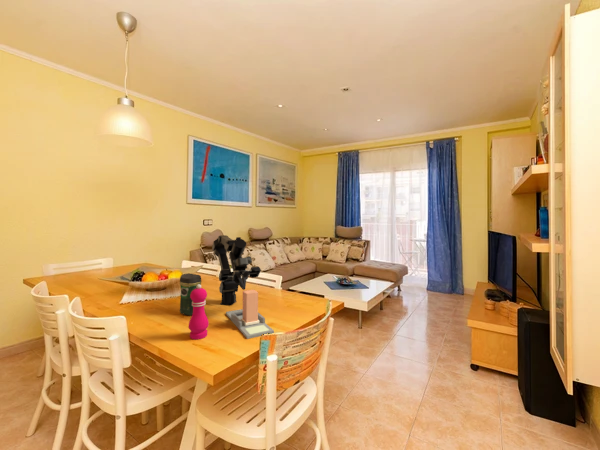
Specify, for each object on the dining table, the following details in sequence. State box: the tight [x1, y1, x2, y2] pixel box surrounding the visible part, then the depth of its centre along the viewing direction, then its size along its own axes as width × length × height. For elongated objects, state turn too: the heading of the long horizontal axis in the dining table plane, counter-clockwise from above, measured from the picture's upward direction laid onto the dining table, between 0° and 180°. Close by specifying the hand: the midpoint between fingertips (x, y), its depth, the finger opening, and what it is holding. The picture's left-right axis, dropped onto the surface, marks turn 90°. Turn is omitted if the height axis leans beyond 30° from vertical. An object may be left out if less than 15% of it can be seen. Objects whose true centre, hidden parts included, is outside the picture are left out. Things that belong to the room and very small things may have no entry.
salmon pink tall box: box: [241, 289, 259, 326], centre depth 115 cm, size 6×6×13 cm
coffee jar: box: [179, 273, 202, 316], centre depth 129 cm, size 10×8×19 cm
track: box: [225, 308, 275, 340], centre depth 118 cm, size 30×11×3 cm, turn 30°
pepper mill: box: [188, 284, 210, 340], centre depth 104 cm, size 7×7×20 cm
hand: (244, 289), depth 122 cm, fingers closed
